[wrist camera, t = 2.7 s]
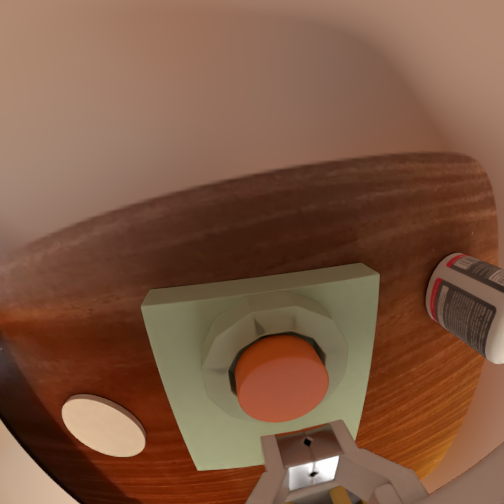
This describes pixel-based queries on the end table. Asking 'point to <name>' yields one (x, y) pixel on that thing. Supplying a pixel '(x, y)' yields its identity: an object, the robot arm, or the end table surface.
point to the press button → (280, 379)
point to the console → (248, 332)
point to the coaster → (103, 425)
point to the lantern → (323, 495)
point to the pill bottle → (469, 303)
